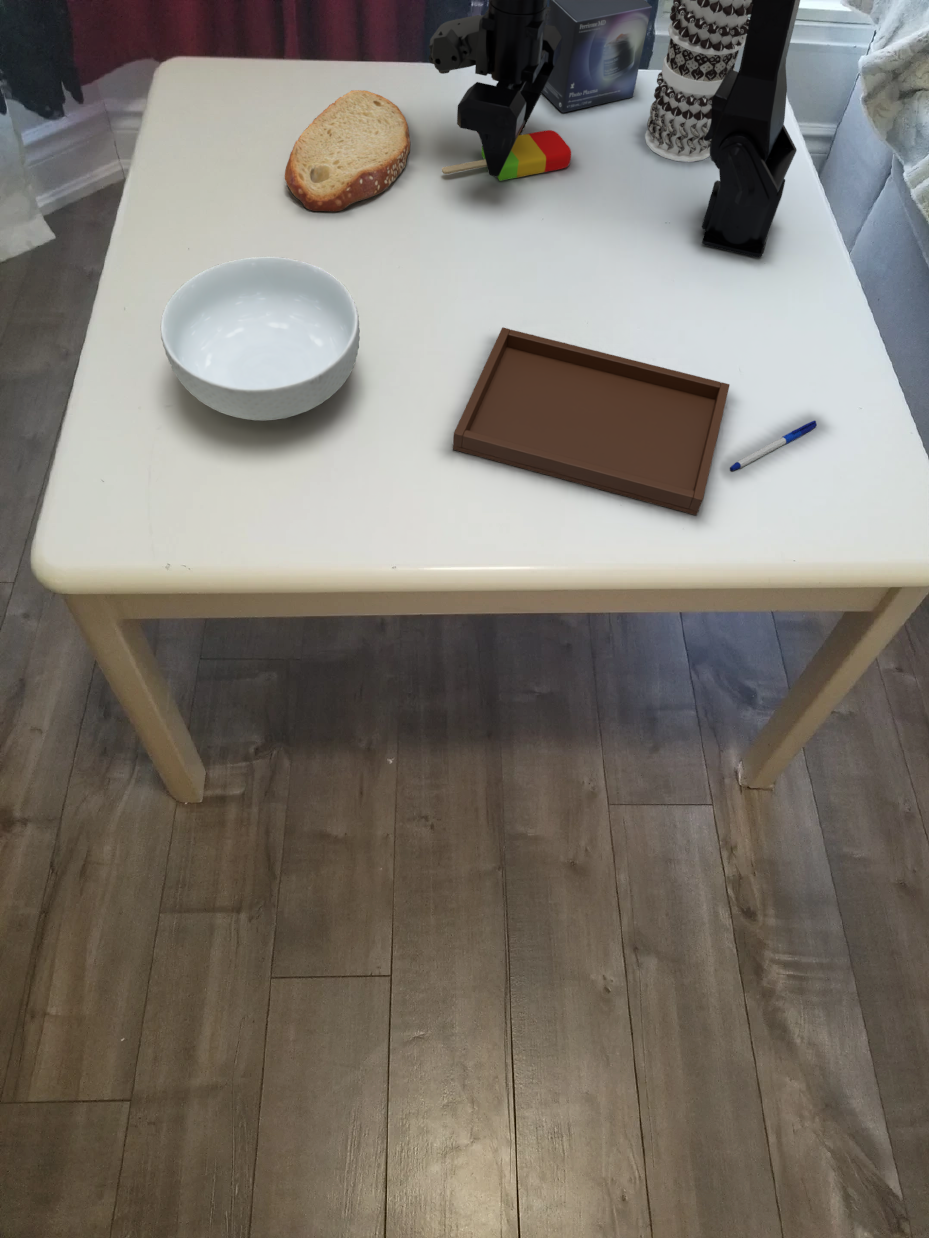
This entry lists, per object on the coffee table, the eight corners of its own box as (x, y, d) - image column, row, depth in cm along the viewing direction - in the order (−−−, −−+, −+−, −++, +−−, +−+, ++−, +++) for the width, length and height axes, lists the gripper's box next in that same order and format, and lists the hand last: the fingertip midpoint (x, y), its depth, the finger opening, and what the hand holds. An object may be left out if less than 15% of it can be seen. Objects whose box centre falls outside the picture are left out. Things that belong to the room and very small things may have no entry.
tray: (723, 400, 84) (729, 384, 83) (696, 515, 77) (702, 500, 75) (500, 344, 87) (502, 327, 86) (452, 449, 80) (453, 433, 78)
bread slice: (379, 101, 110) (378, 68, 107) (456, 177, 102) (457, 145, 99) (240, 137, 104) (235, 104, 101) (310, 222, 96) (306, 189, 93)
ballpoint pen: (809, 423, 84) (813, 415, 83) (816, 428, 83) (820, 420, 83) (727, 469, 80) (731, 461, 79) (735, 476, 80) (738, 468, 79)
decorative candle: (685, 113, 112) (748, -141, 91) (735, 151, 108) (813, -105, 87) (626, 132, 109) (676, -126, 88) (674, 171, 105) (740, -89, 84)
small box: (562, 116, 110) (575, 21, 101) (536, 90, 113) (546, -5, 104) (636, 98, 113) (654, 4, 104) (607, 73, 116) (623, -20, 107)
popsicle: (573, 168, 104) (576, 152, 102) (451, 192, 100) (451, 176, 99) (553, 142, 107) (555, 127, 105) (433, 165, 103) (433, 149, 102)
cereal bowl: (159, 341, 85) (140, 276, 79) (330, 304, 89) (324, 239, 83) (201, 469, 77) (183, 407, 71) (388, 422, 81) (386, 360, 75)
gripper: (469, -53, 95) (462, 99, 109) (408, 28, 86) (409, 184, 99) (571, -33, 94) (552, 119, 107) (521, 52, 84) (507, 207, 97)
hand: (504, 155), depth 103 cm, fingers open, 8 cm apart
